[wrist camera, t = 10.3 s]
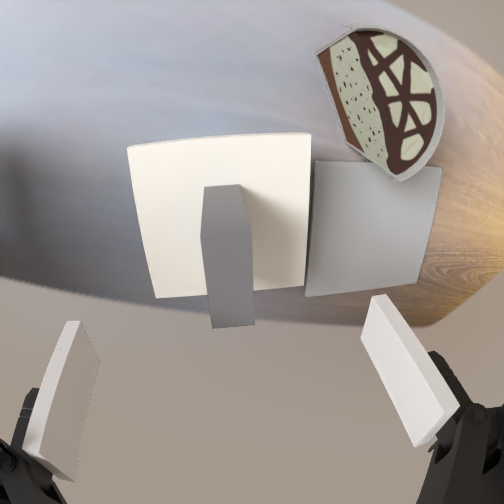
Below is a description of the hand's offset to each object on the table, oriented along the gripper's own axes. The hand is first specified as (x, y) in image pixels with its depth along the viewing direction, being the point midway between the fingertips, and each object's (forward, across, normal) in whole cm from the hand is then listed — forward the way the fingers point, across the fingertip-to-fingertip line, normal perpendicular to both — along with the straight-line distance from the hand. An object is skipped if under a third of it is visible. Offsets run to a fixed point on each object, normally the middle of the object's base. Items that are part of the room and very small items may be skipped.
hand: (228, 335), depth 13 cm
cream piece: (+13, 0, 0) cm, 13 cm away
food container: (+19, +14, +10) cm, 26 cm away
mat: (+18, +18, -5) cm, 26 cm away
